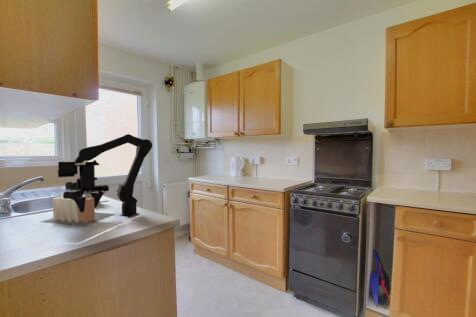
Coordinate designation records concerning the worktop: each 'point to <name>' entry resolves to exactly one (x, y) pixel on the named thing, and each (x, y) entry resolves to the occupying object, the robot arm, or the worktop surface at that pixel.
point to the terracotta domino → (88, 211)
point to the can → (89, 195)
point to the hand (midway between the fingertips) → (88, 210)
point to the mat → (97, 218)
